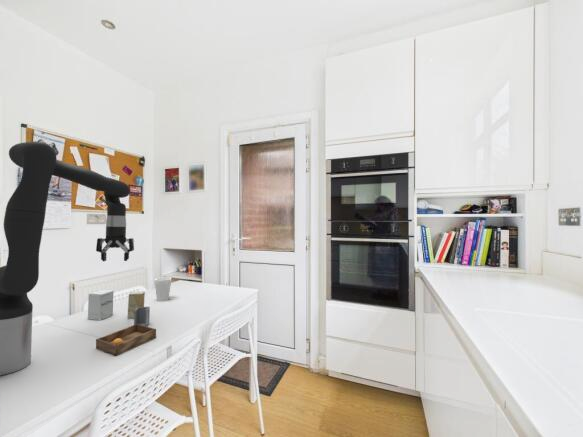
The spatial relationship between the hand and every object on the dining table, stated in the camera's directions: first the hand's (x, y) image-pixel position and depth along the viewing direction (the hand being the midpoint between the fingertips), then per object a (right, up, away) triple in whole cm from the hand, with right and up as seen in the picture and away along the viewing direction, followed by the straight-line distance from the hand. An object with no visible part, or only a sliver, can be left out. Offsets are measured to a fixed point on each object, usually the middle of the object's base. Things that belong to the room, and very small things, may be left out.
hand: (115, 260), depth 114 cm
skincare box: (+2, -30, +11) cm, 33 cm away
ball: (+15, -28, -20) cm, 37 cm away
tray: (+16, -30, -15) cm, 37 cm away
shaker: (+12, -30, 0) cm, 32 cm away
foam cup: (+2, -31, +39) cm, 50 cm away
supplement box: (-14, -30, +10) cm, 35 cm away
